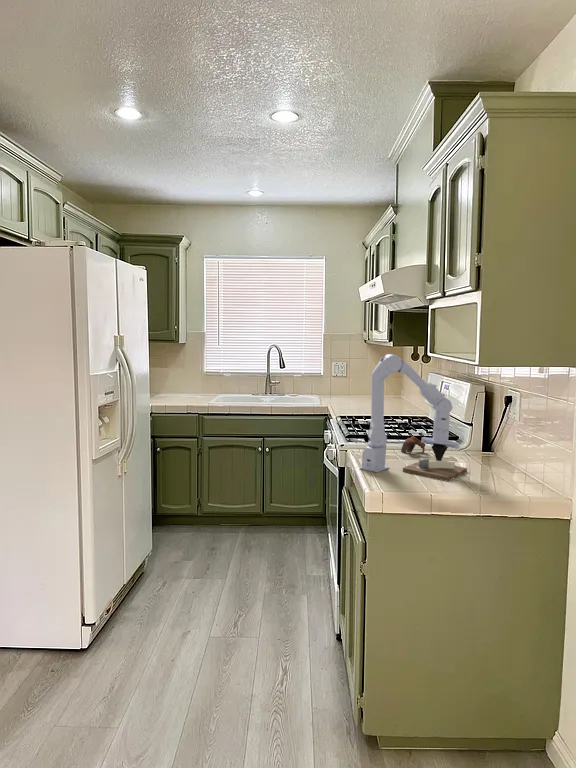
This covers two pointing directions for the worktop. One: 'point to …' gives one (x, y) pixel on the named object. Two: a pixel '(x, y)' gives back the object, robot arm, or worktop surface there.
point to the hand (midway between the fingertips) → (438, 463)
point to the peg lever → (435, 463)
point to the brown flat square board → (435, 471)
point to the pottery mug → (412, 445)
